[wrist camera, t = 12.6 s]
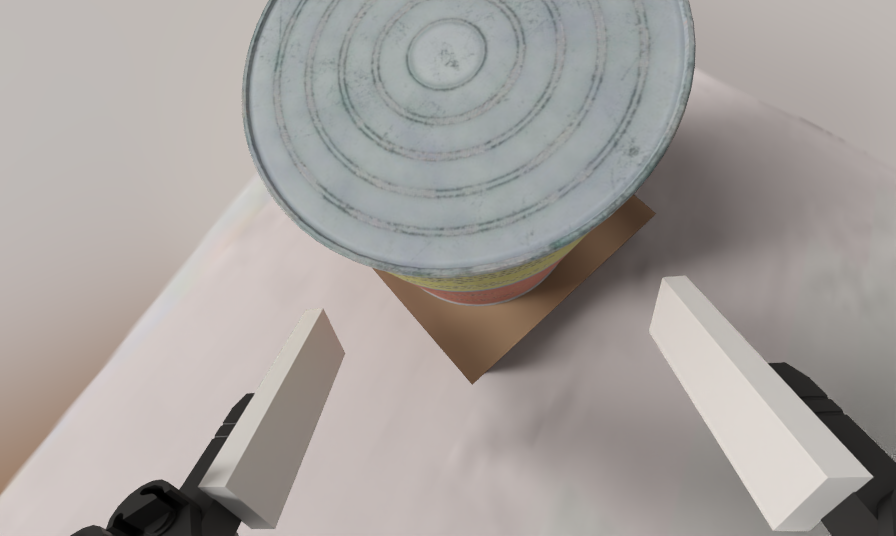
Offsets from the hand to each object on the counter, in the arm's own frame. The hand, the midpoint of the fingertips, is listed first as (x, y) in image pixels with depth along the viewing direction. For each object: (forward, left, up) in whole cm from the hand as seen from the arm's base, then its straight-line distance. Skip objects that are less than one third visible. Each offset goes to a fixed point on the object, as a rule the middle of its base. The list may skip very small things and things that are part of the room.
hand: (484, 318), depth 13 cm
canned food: (-4, -5, -6) cm, 9 cm away
